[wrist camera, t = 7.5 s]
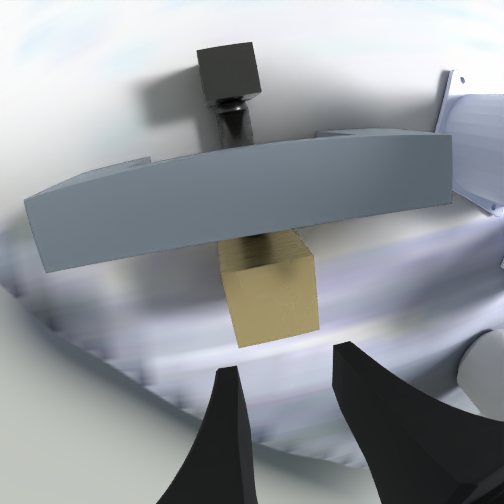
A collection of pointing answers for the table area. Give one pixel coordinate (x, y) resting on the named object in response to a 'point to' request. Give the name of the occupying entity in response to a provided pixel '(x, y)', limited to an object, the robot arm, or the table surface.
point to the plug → (261, 245)
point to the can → (485, 374)
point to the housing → (238, 193)
